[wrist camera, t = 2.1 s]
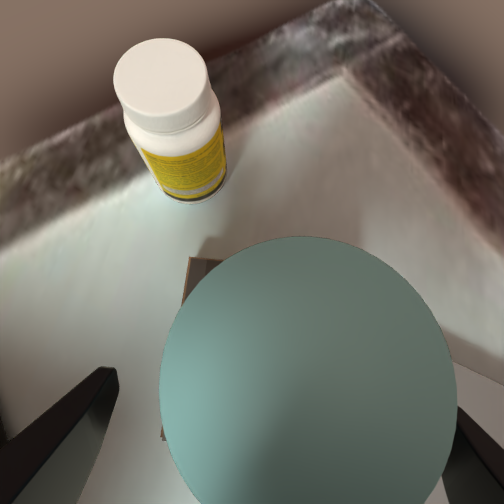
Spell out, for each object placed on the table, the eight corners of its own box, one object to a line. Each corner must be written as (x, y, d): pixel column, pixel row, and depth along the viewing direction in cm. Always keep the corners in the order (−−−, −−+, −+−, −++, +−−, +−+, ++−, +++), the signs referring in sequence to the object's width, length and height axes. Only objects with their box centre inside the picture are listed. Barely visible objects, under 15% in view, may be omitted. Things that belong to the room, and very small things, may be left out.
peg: (275, 415, 17) (371, 639, 4) (202, 363, 17) (95, 427, 5) (320, 337, 18) (503, 333, 5) (250, 291, 18) (264, 188, 6)
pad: (515, 593, 16) (541, 618, 15) (349, 503, 17) (358, 519, 16) (555, 416, 19) (582, 423, 17) (405, 344, 19) (418, 344, 18)
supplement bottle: (241, 177, 22) (240, 82, 14) (185, 220, 21) (147, 145, 13) (197, 128, 23) (171, 12, 15) (141, 167, 22) (80, 67, 14)
